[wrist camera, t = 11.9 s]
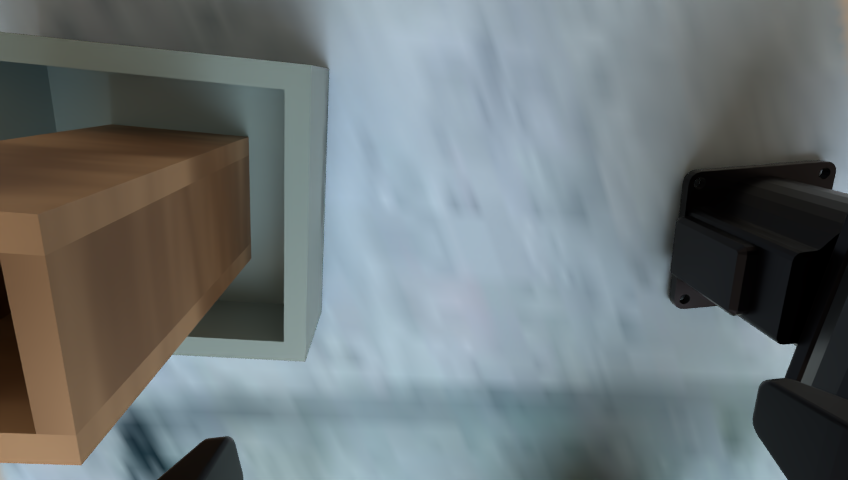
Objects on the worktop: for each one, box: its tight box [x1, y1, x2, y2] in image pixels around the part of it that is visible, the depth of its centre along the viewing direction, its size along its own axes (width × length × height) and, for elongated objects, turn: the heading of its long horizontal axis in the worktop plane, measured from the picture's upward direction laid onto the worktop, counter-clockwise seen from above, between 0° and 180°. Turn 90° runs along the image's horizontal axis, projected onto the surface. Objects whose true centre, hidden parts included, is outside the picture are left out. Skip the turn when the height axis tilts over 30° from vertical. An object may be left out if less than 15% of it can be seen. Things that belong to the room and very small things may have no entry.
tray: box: [0, 32, 329, 362], centre depth 17 cm, size 11×11×4 cm
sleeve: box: [0, 124, 251, 465], centre depth 13 cm, size 5×5×11 cm
